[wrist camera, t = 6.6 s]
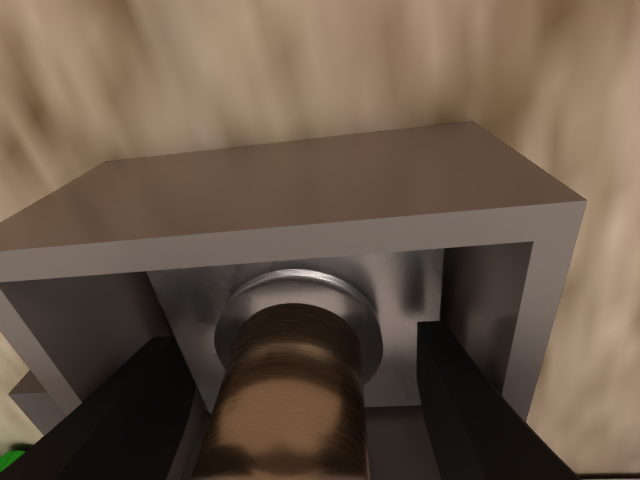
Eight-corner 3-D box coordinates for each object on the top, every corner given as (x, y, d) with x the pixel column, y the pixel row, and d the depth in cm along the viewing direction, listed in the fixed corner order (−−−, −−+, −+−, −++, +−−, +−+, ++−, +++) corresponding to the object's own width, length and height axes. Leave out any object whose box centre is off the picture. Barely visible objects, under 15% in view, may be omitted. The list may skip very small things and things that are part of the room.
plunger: (430, 391, 13) (477, 572, 8) (213, 400, 13) (156, 569, 9) (442, 178, 9) (539, 319, 4) (131, 208, 9) (-35, 352, 5)
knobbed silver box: (448, 377, 14) (495, 529, 10) (170, 389, 15) (105, 529, 11) (471, 120, 9) (587, 199, 5) (56, 165, 10) (-143, 263, 6)
